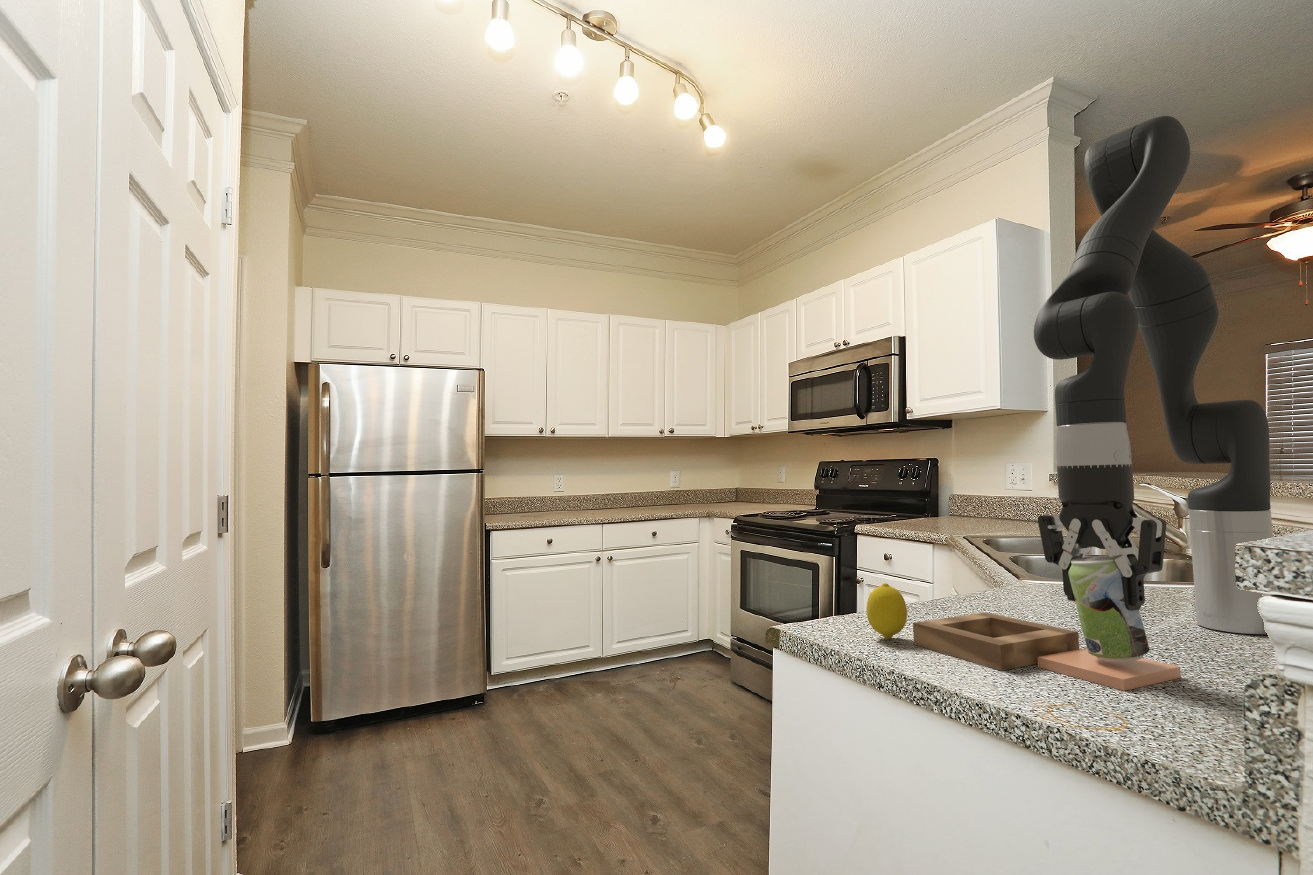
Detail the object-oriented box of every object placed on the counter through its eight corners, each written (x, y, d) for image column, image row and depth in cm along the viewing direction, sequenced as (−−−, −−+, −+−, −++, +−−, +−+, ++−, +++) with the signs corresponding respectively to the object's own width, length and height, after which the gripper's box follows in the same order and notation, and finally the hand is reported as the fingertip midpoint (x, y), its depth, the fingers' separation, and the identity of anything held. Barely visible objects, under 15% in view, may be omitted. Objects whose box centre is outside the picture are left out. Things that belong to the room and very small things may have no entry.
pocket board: (986, 632, 97) (985, 612, 97) (1079, 655, 84) (1078, 631, 84) (914, 644, 92) (912, 622, 92) (1001, 670, 79) (999, 645, 79)
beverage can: (1161, 667, 73) (1153, 558, 74) (1088, 666, 74) (1080, 559, 75) (1132, 652, 79) (1125, 552, 80) (1065, 651, 81) (1058, 552, 81)
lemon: (893, 646, 91) (890, 587, 91) (859, 638, 95) (857, 583, 96) (916, 639, 94) (913, 583, 95) (882, 632, 99) (880, 579, 99)
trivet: (1092, 656, 84) (1092, 646, 84) (1180, 677, 74) (1180, 666, 74) (1038, 666, 80) (1037, 656, 80) (1123, 690, 70) (1123, 679, 71)
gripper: (1179, 460, 73) (1191, 612, 72) (1057, 463, 87) (1065, 592, 86) (1137, 461, 71) (1148, 619, 69) (1017, 464, 84) (1025, 598, 83)
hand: (1102, 604), depth 78 cm, fingers closed on beverage can, 6 cm apart
